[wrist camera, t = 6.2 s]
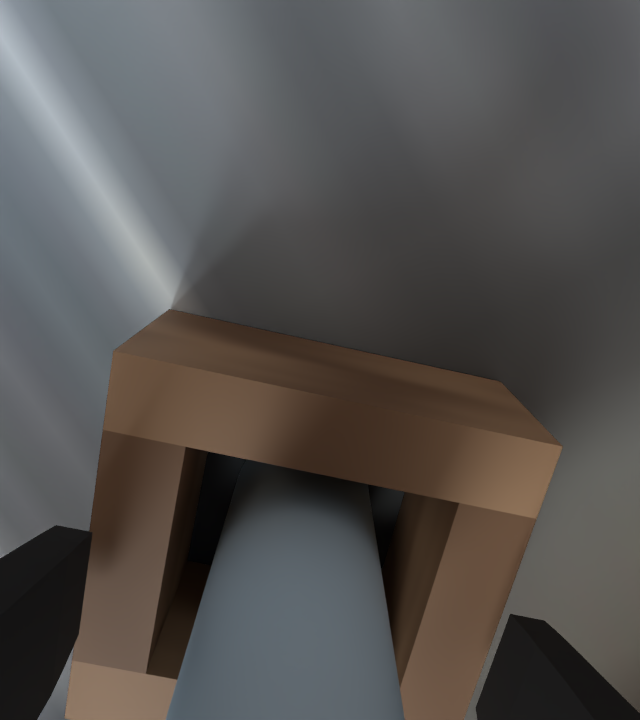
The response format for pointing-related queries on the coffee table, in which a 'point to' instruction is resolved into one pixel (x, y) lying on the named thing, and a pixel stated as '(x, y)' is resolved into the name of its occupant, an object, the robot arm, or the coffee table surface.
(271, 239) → the coffee table surface
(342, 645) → the dowel
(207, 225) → the coffee table surface
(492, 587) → the brown square frame
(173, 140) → the coffee table surface
